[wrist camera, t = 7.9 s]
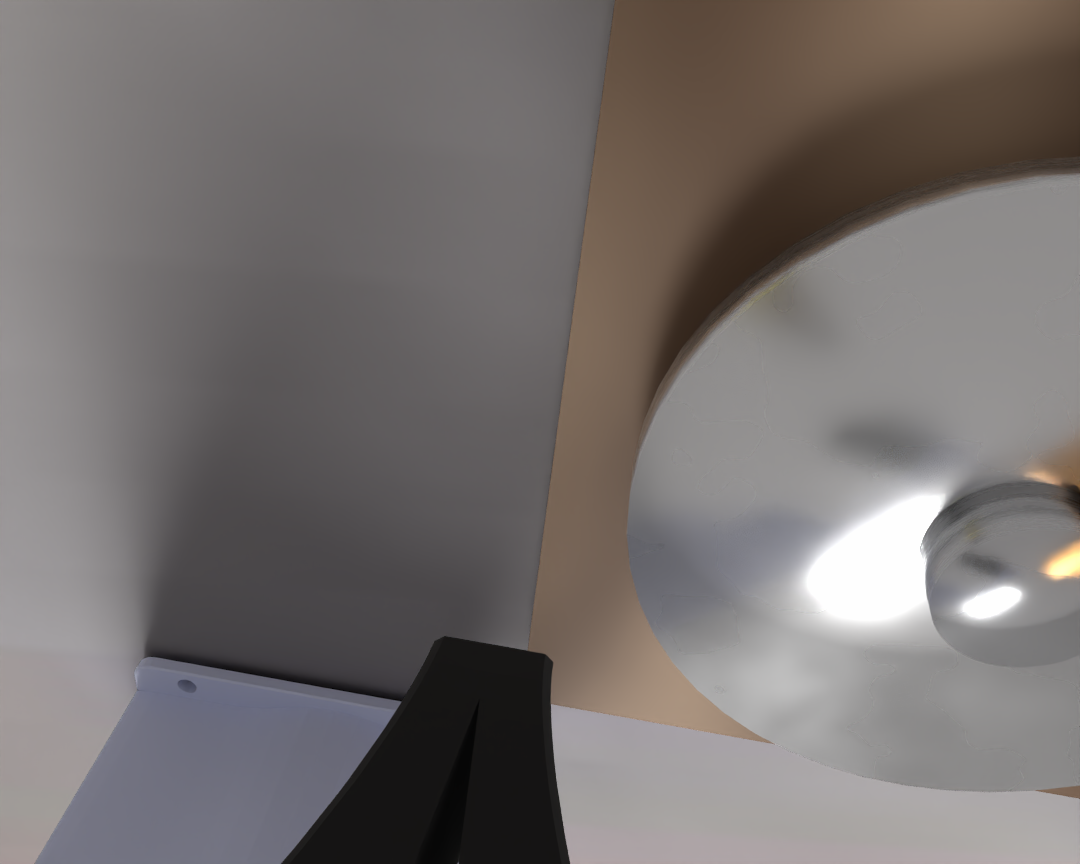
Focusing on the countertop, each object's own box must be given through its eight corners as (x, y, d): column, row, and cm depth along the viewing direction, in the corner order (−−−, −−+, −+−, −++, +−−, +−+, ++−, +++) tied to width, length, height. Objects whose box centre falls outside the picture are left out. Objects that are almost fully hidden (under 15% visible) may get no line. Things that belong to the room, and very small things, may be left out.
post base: (530, 651, 25) (491, 850, 21) (633, -101, 15) (600, -28, 11) (1179, 766, 25) (1283, 998, 20) (1732, 44, 15) (2181, 188, 10)
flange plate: (577, 216, 16) (540, 352, 12) (1612, 87, 13) (1937, 220, 9) (672, 752, 23) (665, 933, 19) (1353, 750, 20) (1485, 962, 16)
